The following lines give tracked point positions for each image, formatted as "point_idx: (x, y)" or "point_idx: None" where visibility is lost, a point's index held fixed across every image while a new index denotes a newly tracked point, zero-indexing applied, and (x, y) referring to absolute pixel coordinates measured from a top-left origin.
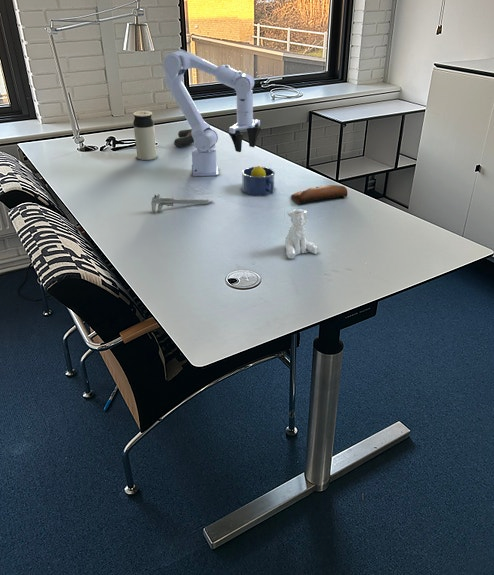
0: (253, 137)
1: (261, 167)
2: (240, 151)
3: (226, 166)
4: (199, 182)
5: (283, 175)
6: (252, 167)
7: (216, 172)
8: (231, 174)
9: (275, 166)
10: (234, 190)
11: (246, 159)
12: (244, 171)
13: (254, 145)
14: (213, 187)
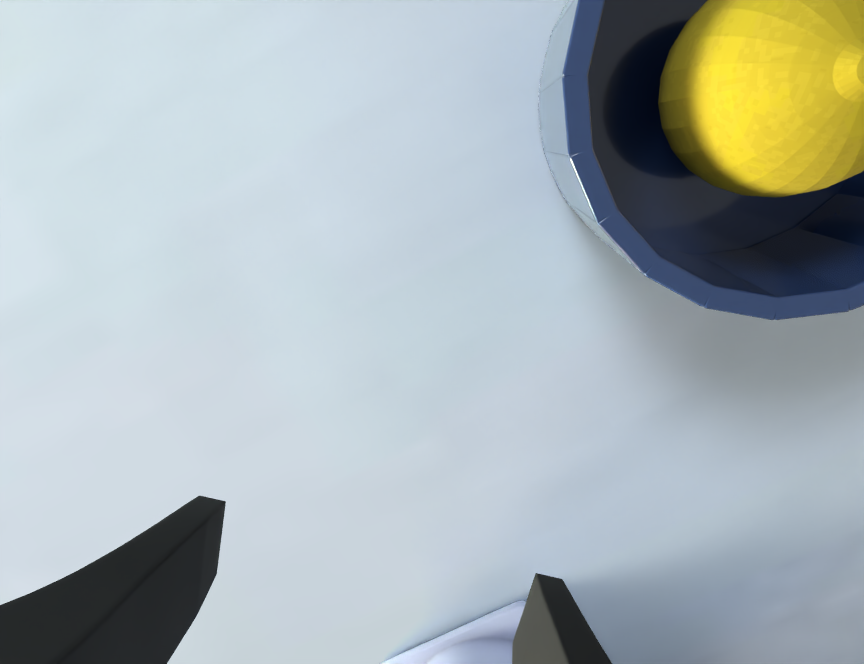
0: (126, 634)
1: (819, 29)
2: (552, 579)
3: (278, 631)
4: (737, 648)
5: (177, 52)
6: (655, 255)
7: (488, 632)
8: (432, 517)
9: (2, 261)
10: None
11: (27, 570)
12: (829, 287)
13: (200, 509)
14: (812, 505)
